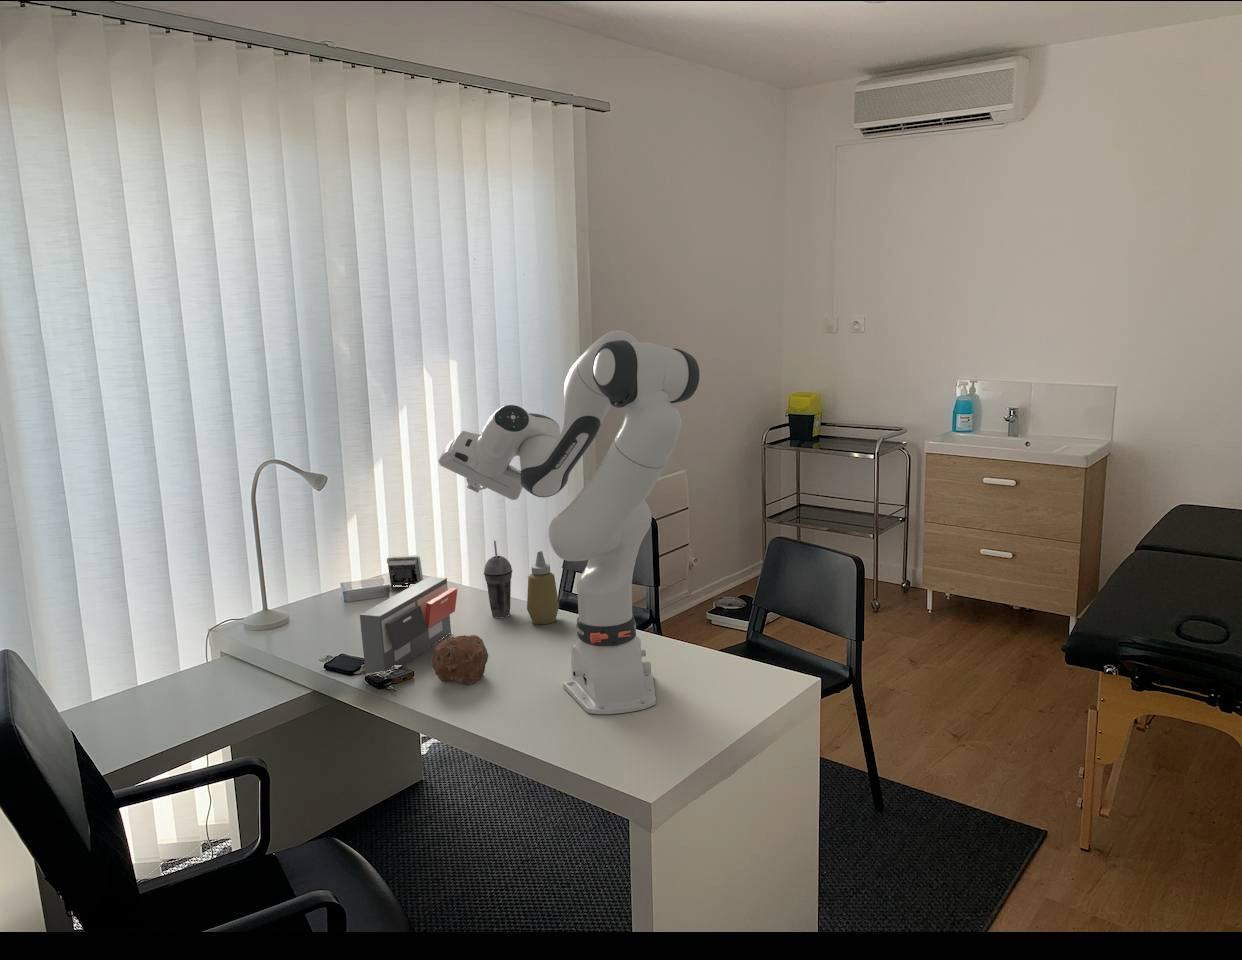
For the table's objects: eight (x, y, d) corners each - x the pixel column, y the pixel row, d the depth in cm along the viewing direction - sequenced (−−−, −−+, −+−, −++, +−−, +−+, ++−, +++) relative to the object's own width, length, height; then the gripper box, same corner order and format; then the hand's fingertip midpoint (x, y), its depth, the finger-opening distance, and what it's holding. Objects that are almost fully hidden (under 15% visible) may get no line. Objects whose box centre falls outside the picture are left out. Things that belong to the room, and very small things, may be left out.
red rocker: (455, 611, 223) (458, 588, 221) (428, 628, 212) (431, 604, 210) (450, 609, 223) (453, 586, 222) (423, 626, 212) (426, 602, 211)
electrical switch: (424, 582, 268) (420, 552, 265) (421, 590, 263) (417, 559, 261) (391, 584, 268) (387, 554, 265) (387, 591, 263) (384, 561, 260)
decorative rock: (454, 696, 189) (451, 650, 187) (419, 684, 196) (415, 639, 194) (501, 675, 199) (498, 631, 197) (465, 664, 206) (462, 621, 204)
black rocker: (427, 630, 210) (420, 605, 209) (397, 649, 199) (390, 623, 198) (422, 631, 210) (415, 606, 209) (392, 650, 199) (385, 624, 198)
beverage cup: (517, 610, 241) (513, 535, 237) (512, 619, 233) (506, 543, 230) (490, 610, 241) (485, 536, 238) (483, 620, 234) (478, 543, 230)
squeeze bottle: (556, 627, 227) (552, 556, 224) (524, 626, 228) (519, 556, 225) (563, 615, 235) (559, 547, 232) (532, 615, 236) (528, 547, 233)
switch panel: (451, 633, 226) (447, 578, 223) (386, 678, 200) (380, 616, 197) (433, 631, 227) (428, 576, 225) (365, 675, 202) (359, 614, 199)
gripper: (536, 467, 212) (517, 497, 222) (454, 427, 208) (439, 459, 219) (528, 487, 208) (508, 517, 218) (444, 447, 204) (429, 479, 215)
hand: (473, 488), depth 219 cm, fingers closed
